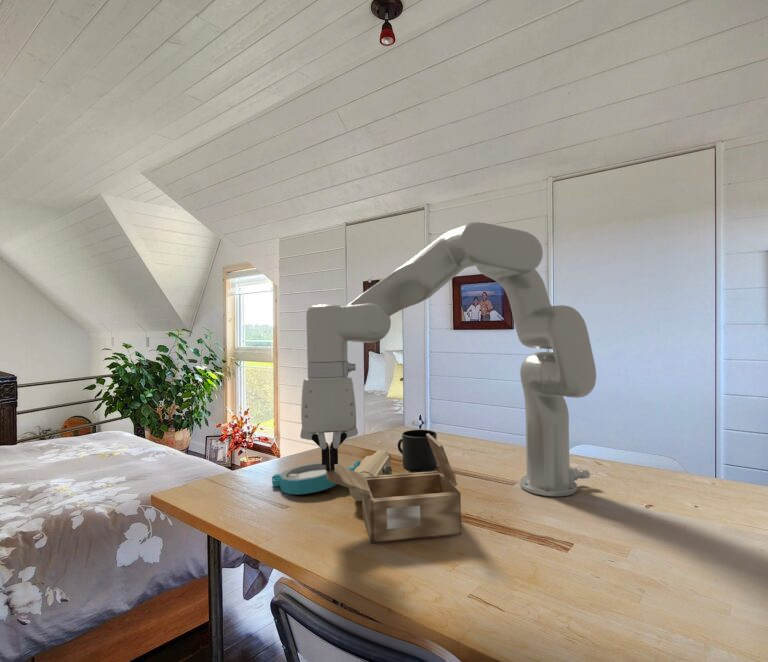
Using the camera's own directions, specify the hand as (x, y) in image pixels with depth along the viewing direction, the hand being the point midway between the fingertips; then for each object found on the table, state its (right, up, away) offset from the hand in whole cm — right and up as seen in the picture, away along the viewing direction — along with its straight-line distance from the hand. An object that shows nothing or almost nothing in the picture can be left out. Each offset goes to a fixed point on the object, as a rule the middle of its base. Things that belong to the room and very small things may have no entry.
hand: (330, 468), depth 87 cm
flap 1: (+7, -3, +1) cm, 8 cm away
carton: (+15, -12, +2) cm, 19 cm away
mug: (+19, -12, +41) cm, 46 cm away
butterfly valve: (-3, -12, +25) cm, 28 cm away
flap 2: (+23, -3, +4) cm, 23 cm away
